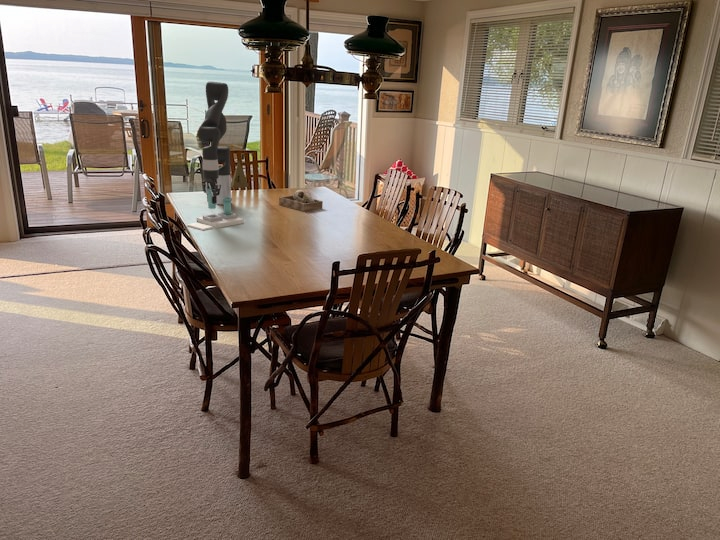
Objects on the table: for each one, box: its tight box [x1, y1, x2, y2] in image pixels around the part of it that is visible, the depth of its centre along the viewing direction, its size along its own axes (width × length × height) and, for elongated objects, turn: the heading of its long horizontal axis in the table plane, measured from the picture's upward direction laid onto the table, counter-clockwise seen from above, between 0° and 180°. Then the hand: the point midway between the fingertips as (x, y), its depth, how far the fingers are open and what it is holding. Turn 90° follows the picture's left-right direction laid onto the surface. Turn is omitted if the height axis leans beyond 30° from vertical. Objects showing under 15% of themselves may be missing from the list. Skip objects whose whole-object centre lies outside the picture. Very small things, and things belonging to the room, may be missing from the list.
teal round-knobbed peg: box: [205, 188, 217, 210], centre depth 265 cm, size 5×5×10 cm
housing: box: [196, 211, 245, 229], centre depth 272 cm, size 17×17×4 cm
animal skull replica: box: [293, 189, 315, 204], centre depth 314 cm, size 8×17×10 cm, turn 49°
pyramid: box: [231, 161, 250, 189], centre depth 364 cm, size 13×13×18 cm
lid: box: [186, 221, 214, 231], centre depth 261 cm, size 12×6×1 cm, turn 56°
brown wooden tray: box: [278, 194, 323, 213], centre depth 316 cm, size 23×14×4 cm, turn 48°
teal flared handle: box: [222, 197, 233, 215], centre depth 273 cm, size 5×5×10 cm
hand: (212, 202), depth 266 cm, fingers closed on teal round-knobbed peg, 3 cm apart
